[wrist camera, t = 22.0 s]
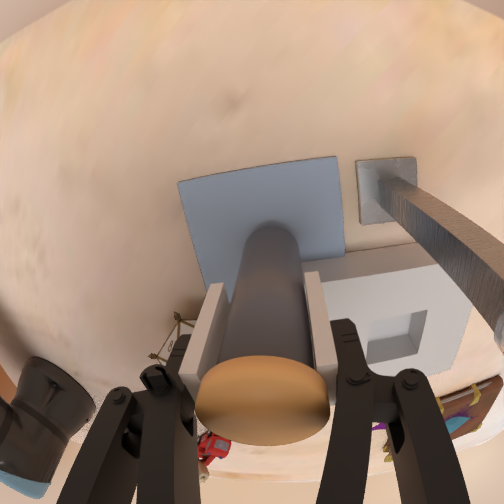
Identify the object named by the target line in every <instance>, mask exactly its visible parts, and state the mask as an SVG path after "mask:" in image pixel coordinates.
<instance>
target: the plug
mask: <svg viewBox="0 0 504 504" xmlns="http://www.w3.org/2000/svg"><path fill="white" fill-rule="evenodd" d="M195 413H196V416H197V418H198V419H199V421H200V422H201V423H202V424H203V425H204V426H205V427H206V428H207V429H209V430H210V431H212V432H213V433H215V434H217V435H219V436H221V437H223V438H225V439H228V440H231V441H234V442H238V443H242V444H248V445H256V446H277V445H285V444H290V443H294V442H298V441H301V440H304V439H306V438H308V437H311V436H312V435H314V434H316V433H317V432H319V431H320V430H321V429H322V428H323V427H324V426H325V425H326V424H327V422H328V420H329V417H330V405H329V397H328V389H327V385H326V382H325V381H324V379H323V378H322V376H321V375H320V374H319V373H318V372H316V371H315V368H314V358H313V349H312V341H311V332H310V324H309V316H308V308H307V301H306V294H305V286H304V279H303V272H302V266H301V259H300V252H299V246H298V243H297V241H296V239H295V238H294V236H293V235H292V234H291V233H290V232H288V231H287V230H285V229H283V228H280V227H276V226H267V227H262V228H260V229H257V230H256V231H254V232H253V233H252V234H251V235H250V236H249V237H248V239H247V240H246V243H245V246H244V250H243V254H242V258H241V262H240V266H239V270H238V275H237V279H236V283H235V287H234V291H233V295H232V300H231V304H230V308H229V312H228V316H227V321H226V325H225V329H224V333H223V337H222V342H221V346H220V350H219V354H218V359H217V363H216V366H214V367H213V368H211V369H210V370H209V371H208V372H207V373H206V374H205V375H204V377H203V378H202V381H201V384H200V388H199V391H198V395H197V399H196V403H195Z"/></svg>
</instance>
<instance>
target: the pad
mask: <svg viewBox="0 0 504 504" xmlns="http://www.w3.org/2000/svg"><path fill="white" fill-rule="evenodd" d="M177 185H178V189H179V193H180V197H181V201H182V205H183V209H184V213H185V216H186V220H187V224H188V227H189V231H190V235H191V238H192V242H193V245H194V249H195V253H196V256H197V259H198V263H199V266H200V270H201V273H202V276H203V280H204V283H205V286H206V290H207V292H208V289H209V287H210V284H214V283H223V282H224V286H225V289H226V293H227V297H228V300H229V304H231V300H232V295H233V291H234V287H235V283H236V279H237V275H238V270H239V266H240V262H241V258H242V254H243V250H244V246H245V243H246V240H247V239H248V237H249V236H250V235H251V234H252V233H253V232H254V231H256V230H257V229H260V228H262V227H267V226H276V227H280V228H283V229H285V230H287V231H288V232H290V233H291V234H292V235H293V236H294V238H295V239H296V241H297V243H298V246H299V252H300V259H301V262H307V261H315V260H322V259H329V258H337V257H344V256H345V242H344V225H343V211H342V199H341V188H340V178H339V169H338V161H337V157H336V156H332V157H323V158H315V159H307V160H299V161H291V162H284V163H277V164H271V165H264V166H258V167H252V168H246V169H240V170H235V171H229V172H224V173H218V174H213V175H208V176H203V177H198V178H194V179H189V180H184V181H180V182H178V183H177Z"/></svg>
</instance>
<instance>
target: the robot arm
mask: <svg viewBox="0 0 504 504" xmlns="http://www.w3.org/2000/svg"><path fill="white" fill-rule="evenodd" d="M304 277H305V286H306V296H307V306H308V316H309V324H310V332H311V340H312V349H313V358H314V367H315V371H316V372H318V373H319V374H320V375H321V376H322V378H323V379H324V381H325V382H326V385H327V389H328V397H329V405H335V411H334V418H333V424H332V430H331V435H330V441H329V446H328V451H327V456H326V461H325V466H324V471H323V475H322V480H321V484H320V488H319V492H318V497H317V500H316V504H363V499H364V493H365V486H366V480H367V472H368V464H369V456H370V446H371V434H372V422H377V423H384V424H385V428H386V432H387V436H388V440H389V444H390V448H391V453H392V457H393V462H394V466H395V471H396V476H397V481H398V486H399V491H400V497H401V503H402V504H470V500H469V496H468V492H467V488H466V485H465V481H464V477H463V474H462V471H461V467H460V464H459V461H458V458H457V455H456V452H455V449H454V446H453V443H452V440H451V437H450V434H449V432H448V429H447V426H446V423H445V421H444V418H443V416H442V413H441V411H440V408H439V406H438V403H437V401H436V398H435V396H434V393H433V391H432V389H431V386H430V384H429V382H428V379H427V377H426V376H425V374H424V373H423V372H421V371H420V370H418V369H414V368H408V369H404V370H402V371H400V372H399V373H398V374H397V375H396V376H384V375H379V374H376V373H374V372H373V371H372V370H371V369H370V368H369V367H368V365H367V362H366V359H365V355H364V352H363V349H362V345H361V342H360V338H359V335H358V332H357V329H356V325H355V324H354V323H353V322H352V321H351V320H350V319H349V318H345V319H338V320H331V321H329V316H328V312H327V307H326V303H325V298H324V294H323V289H322V285H321V281H320V277H319V272H318V271H314V272H307V273H304ZM229 308H230V304H229V300H228V297H227V293H226V289H225V286H224V282H223V283H214V284H210V287H209V289H208V292H207V295H206V297H205V300H204V303H203V306H202V308H201V311H200V314H199V316H198V319H197V322H196V325H195V327H194V330H193V333H192V334H182V335H181V336H180V337H179V338H178V339H177V340H176V341H175V343H174V346H173V348H172V351H171V353H170V357H169V358H168V360H167V363H166V365H165V366H164V365H161V364H155V365H152V366H149V367H148V368H146V369H145V370H144V371H143V372H142V373H141V375H140V377H139V378H140V379H141V381H142V382H143V384H144V385H145V387H146V388H147V390H144V391H139V392H134V393H132V392H131V391H130V390H129V389H128V388H127V387H124V386H123V387H117V388H114V389H113V390H111V391H110V392H109V393H108V395H107V396H106V398H105V400H104V402H103V404H102V406H101V408H100V410H99V412H98V414H97V416H96V418H95V420H94V422H93V424H92V426H91V428H90V430H89V432H88V434H87V436H86V438H85V440H84V442H83V444H82V446H81V449H80V451H79V453H78V455H77V457H76V459H75V461H74V464H73V466H72V468H71V470H70V472H69V475H68V477H67V479H66V482H65V484H64V486H63V489H62V491H61V493H60V496H59V498H58V500H57V503H56V504H131V502H132V499H133V495H134V492H135V489H136V486H137V502H136V504H201V499H200V485H199V468H198V446H197V419H196V416H195V414H194V409H195V403H196V399H197V395H198V391H199V388H200V384H201V381H202V378H203V377H204V375H205V374H206V373H207V372H208V371H209V370H210V369H211V368H213V367H214V366H216V363H217V359H218V354H219V350H220V346H221V342H222V337H223V333H224V329H225V325H226V321H227V316H228V312H229ZM94 412H95V405H94V402H93V401H92V399H91V397H90V396H89V395H88V394H87V392H86V391H85V390H84V389H83V388H82V387H81V386H80V385H79V384H78V383H77V382H76V381H75V380H74V379H72V378H71V377H70V376H69V375H68V374H66V373H65V372H64V371H62V370H61V369H59V368H58V367H56V366H55V365H53V364H51V363H49V362H48V361H45V360H43V359H40V358H36V357H32V358H30V359H29V360H28V361H27V362H26V364H25V365H24V367H23V369H22V373H21V376H20V379H19V383H18V387H17V392H16V395H15V397H14V399H13V400H12V402H11V403H10V405H9V404H8V403H7V402H6V401H5V400H4V399H3V398H2V397H1V396H0V481H1V482H2V483H4V484H5V485H7V486H9V487H10V488H12V489H14V490H16V491H18V492H20V493H22V494H24V495H26V496H28V497H31V498H34V499H40V498H42V497H43V496H44V494H45V492H46V491H47V489H48V487H49V485H51V480H52V477H53V475H54V473H55V470H56V468H57V466H58V464H59V462H60V459H61V457H62V455H63V453H64V450H65V448H66V446H67V444H68V442H69V440H70V438H71V437H72V436H73V435H74V434H76V433H77V432H78V431H79V430H80V429H81V428H82V427H83V426H84V425H85V424H86V423H88V422H89V421H90V420H91V418H92V416H93V414H94ZM137 483H138V484H137Z"/></svg>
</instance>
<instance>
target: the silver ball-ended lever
mask: <svg viewBox="0 0 504 504" xmlns="http://www.w3.org/2000/svg"><path fill="white" fill-rule="evenodd" d="M494 340H495V343H496V344H497V346H498V347H499V349H500V350H501V352H502V353H503V355H504V308H503V310H502V312H501V314H500V316H499V318H498V321H497V324H496V327H495V332H494Z"/></svg>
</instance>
